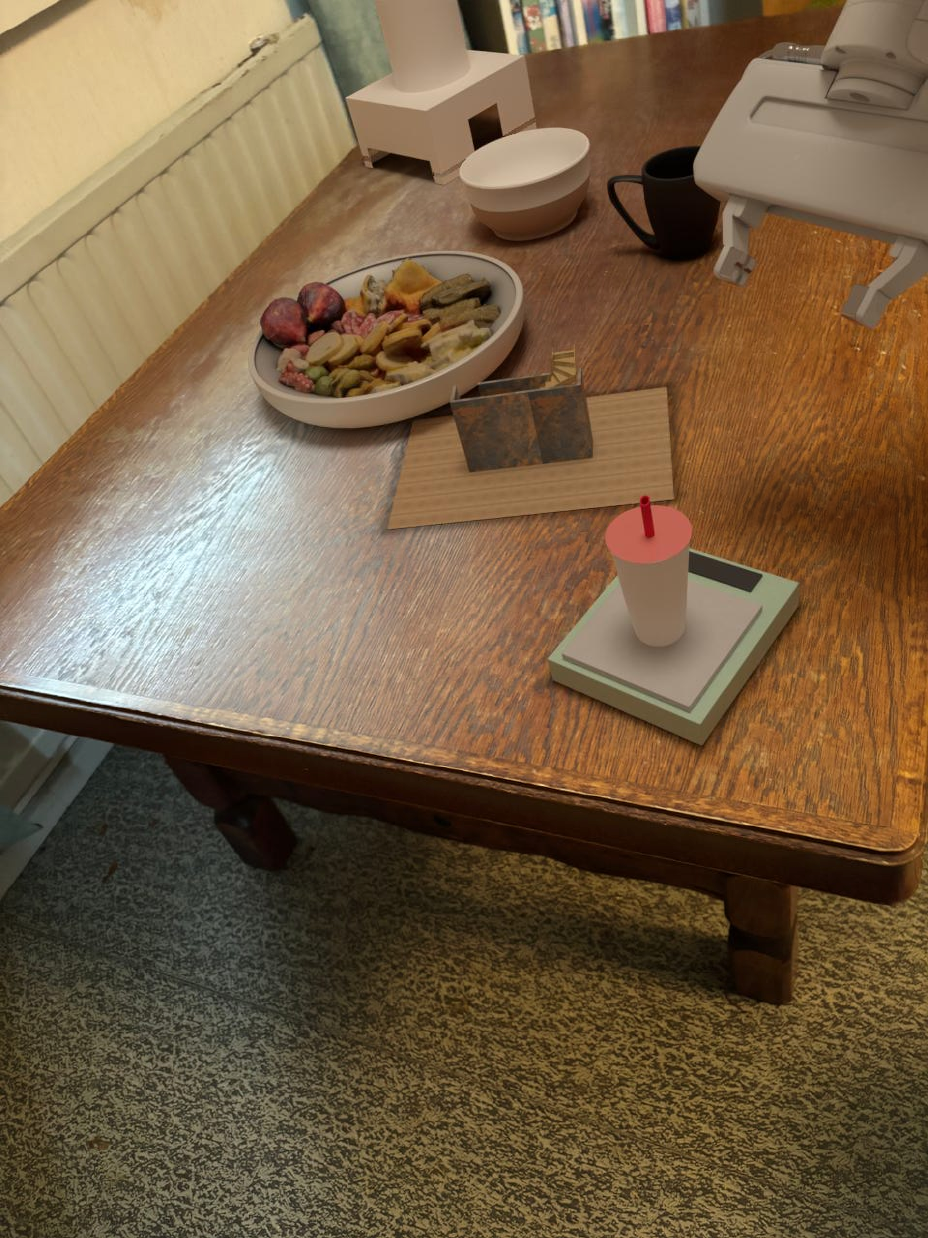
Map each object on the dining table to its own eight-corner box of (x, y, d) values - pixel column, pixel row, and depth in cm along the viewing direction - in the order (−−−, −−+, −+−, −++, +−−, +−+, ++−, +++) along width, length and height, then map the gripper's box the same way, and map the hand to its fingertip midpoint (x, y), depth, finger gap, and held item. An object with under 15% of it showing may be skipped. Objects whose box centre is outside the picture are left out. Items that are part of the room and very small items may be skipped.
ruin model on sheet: (666, 386, 91) (657, 292, 84) (673, 499, 80) (664, 400, 73) (413, 420, 97) (385, 334, 90) (387, 529, 86) (353, 441, 79)
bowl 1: (557, 280, 109) (545, 212, 104) (491, 440, 90) (472, 367, 85) (323, 300, 120) (302, 240, 115) (220, 448, 101) (188, 383, 96)
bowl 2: (598, 180, 125) (590, 116, 120) (597, 237, 115) (588, 170, 109) (478, 202, 129) (465, 142, 124) (467, 260, 118) (451, 196, 113)
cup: (675, 668, 64) (660, 534, 56) (606, 642, 67) (582, 511, 59) (713, 615, 66) (705, 479, 58) (645, 591, 69) (627, 459, 61)
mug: (622, 236, 113) (612, 154, 107) (727, 226, 109) (724, 140, 103) (610, 271, 108) (599, 187, 102) (720, 263, 104) (716, 175, 97)
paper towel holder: (365, 166, 148) (298, -64, 127) (454, 115, 154) (404, -112, 133) (443, 185, 136) (383, -66, 115) (536, 128, 142) (496, -118, 121)
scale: (799, 606, 69) (799, 576, 67) (702, 746, 63) (699, 718, 61) (652, 557, 76) (649, 529, 74) (552, 680, 70) (545, 653, 68)
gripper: (734, 13, 57) (633, 243, 62) (1078, 40, 44) (919, 332, 48) (786, 64, 62) (688, 276, 66) (1113, 103, 48) (965, 366, 52)
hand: (788, 300), depth 57 cm, fingers open, 8 cm apart
